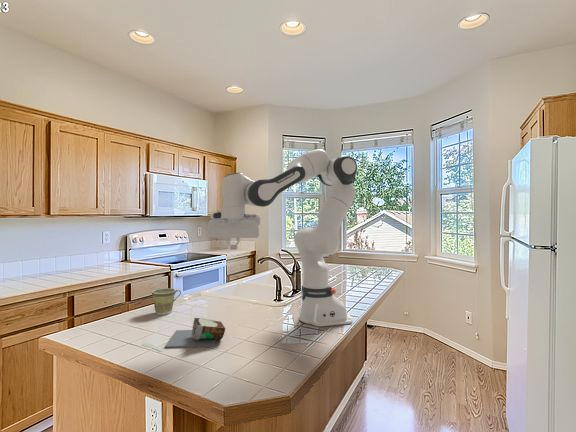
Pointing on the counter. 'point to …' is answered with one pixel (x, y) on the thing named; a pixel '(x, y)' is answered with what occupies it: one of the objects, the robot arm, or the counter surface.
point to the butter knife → (152, 346)
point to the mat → (187, 340)
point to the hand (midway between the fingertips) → (233, 249)
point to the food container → (207, 329)
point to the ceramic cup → (164, 300)
